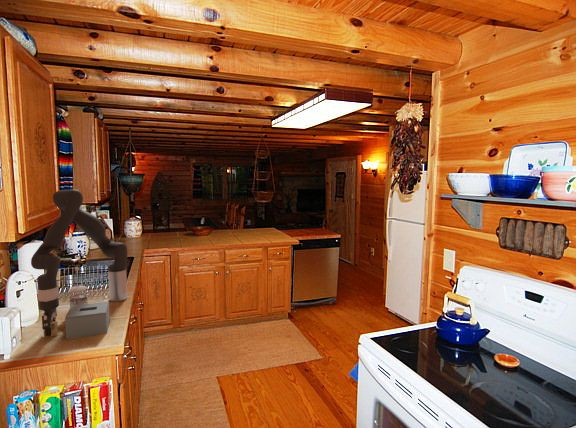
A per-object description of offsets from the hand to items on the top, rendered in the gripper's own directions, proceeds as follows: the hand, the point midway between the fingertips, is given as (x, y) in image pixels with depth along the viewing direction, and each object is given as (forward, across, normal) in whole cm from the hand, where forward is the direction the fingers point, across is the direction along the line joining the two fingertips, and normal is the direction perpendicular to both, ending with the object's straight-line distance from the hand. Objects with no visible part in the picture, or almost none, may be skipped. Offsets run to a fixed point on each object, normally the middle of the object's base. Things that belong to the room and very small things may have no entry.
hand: (50, 331), depth 156 cm
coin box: (+2, -1, +15) cm, 15 cm away
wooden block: (+2, 0, 0) cm, 2 cm away
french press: (+2, -20, +8) cm, 22 cm away
